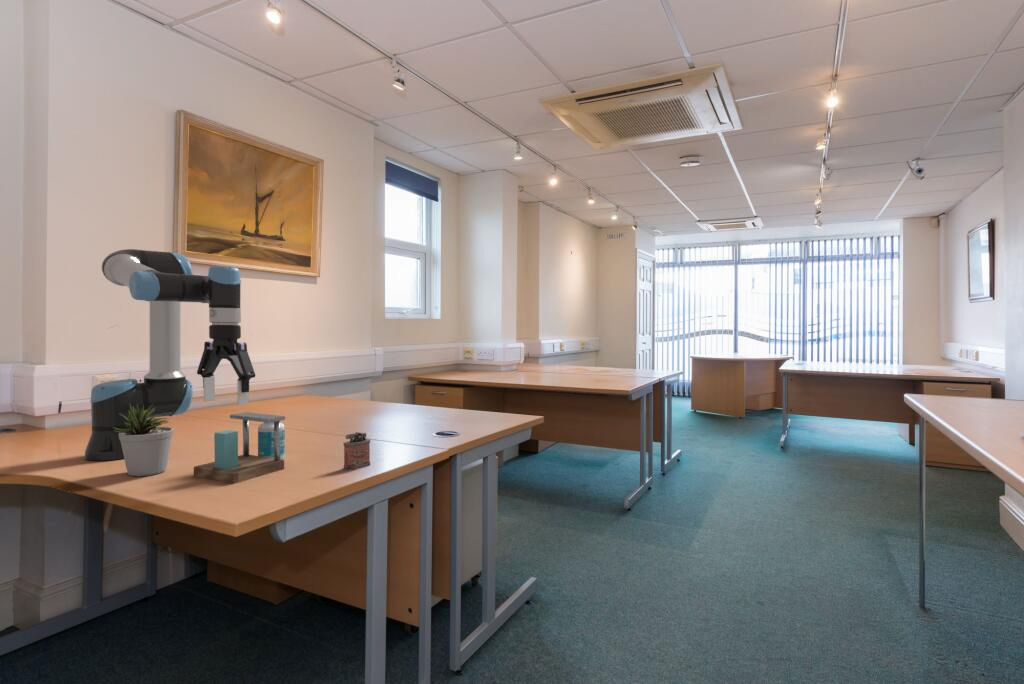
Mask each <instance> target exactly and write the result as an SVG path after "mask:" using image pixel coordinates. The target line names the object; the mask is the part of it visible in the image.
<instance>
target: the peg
mask: <svg viewBox="0 0 1024 684" xmlns="http://www.w3.org/2000/svg"><path fill="white" fill-rule="evenodd" d="M213 435H214V437H213V438H214V441H213V442H214V462H215V469H220V470H228V469H231V468H235V467H238V456H239V432H238V430H230V429H227V430H221V431H216V432H214V433H213Z"/></svg>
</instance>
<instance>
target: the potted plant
mask: <svg viewBox="0 0 1024 684" xmlns="http://www.w3.org/2000/svg"><path fill="white" fill-rule="evenodd" d="M152 405H153V404H152ZM152 405H151V406H152ZM151 406H150V407H149V408H148V410H145V411H144V405H143V409H142V411H141V413H139V410H138V404H137V412H136V410H135V408H134V407H132V408H133V410H132V408H131V405H130V409H131V412H132V413H131V414H132V415H133V416H132V415H131V414H130V411H129V419H128V418H127V417H125V416H123V415H122V414H120V413H118V414H120V415H122V416H123V417H124V418H126V419H127V420H128V421H129V423H130V424H128V423H124V424H125V425H126V426H128V427H129V428H128V429H118V428H114V427H113V428H114V429H116V430H120V431H116V430H114V431H116V432H119V440H120V441H121V445H122V450H123V455H124V458H123V459H124V462H125V463H124V464H125V468H126V472H127V475H129V476H131V477H147V476H149V477H150V476H155V475H158V474H161V473H163V472H165V471H166V470H167V468H168V463H169V457H170V450H171V449H170V448H171V444H172V437H173V435H174V428H173V427H170V426H161V425H164V424H168V423H169V421H168V420H169V418H168V417H159V416H154V417H152V418H148V417H149V415H150V414H151V413H152V412H154V410H155V408H153V409H154V410H153V409H152V410H153V411H152V410H150V411H149V409H150V408H151ZM148 411H149V412H148ZM145 412H146V413H145ZM144 414H145V415H144Z"/></svg>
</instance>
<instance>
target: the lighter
mask: <svg viewBox="0 0 1024 684" xmlns="http://www.w3.org/2000/svg"><path fill="white" fill-rule="evenodd" d="M345 439H346V440H350V441H344V442H343V447H344V448H343V454H344V455H343V458H344V459H343V460H344V462H343V464H344V465H343V470H346V471H350V470H355V469H356V470H357V469H361V468H362V469H363V468H366V467H370V466H371V460H370V458H371V457H370V456H371V455H370V451H371V450H370V447H371V445H370V443H371V439H370V438H367V432H365V431H364V432H359V431H356V432H353V433H347V434H346V435H345Z"/></svg>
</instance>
